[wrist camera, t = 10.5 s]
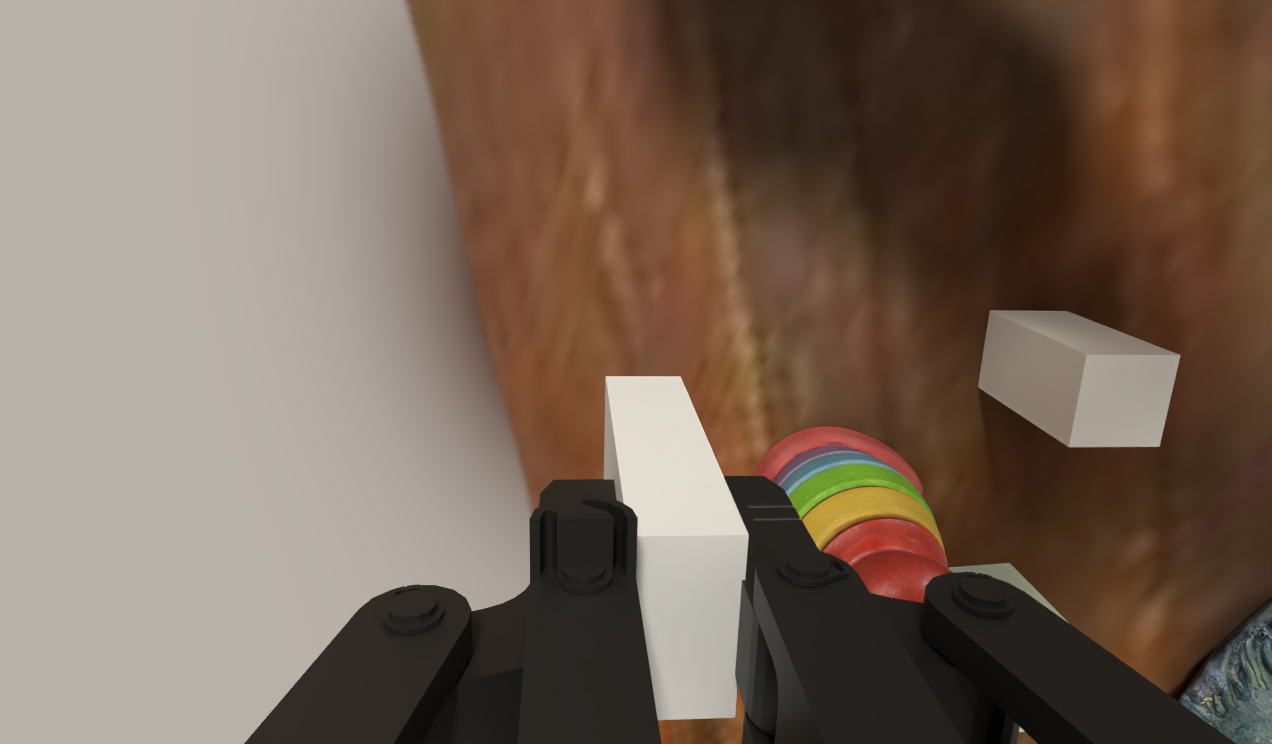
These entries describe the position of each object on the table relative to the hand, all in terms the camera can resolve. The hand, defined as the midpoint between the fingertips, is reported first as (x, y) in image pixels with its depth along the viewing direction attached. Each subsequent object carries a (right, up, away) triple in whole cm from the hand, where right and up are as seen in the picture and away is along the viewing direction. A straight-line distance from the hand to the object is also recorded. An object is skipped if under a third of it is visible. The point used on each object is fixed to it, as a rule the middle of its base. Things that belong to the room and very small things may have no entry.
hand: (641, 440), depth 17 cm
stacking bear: (+12, -6, +37) cm, 40 cm away
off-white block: (+24, +3, +35) cm, 43 cm away
